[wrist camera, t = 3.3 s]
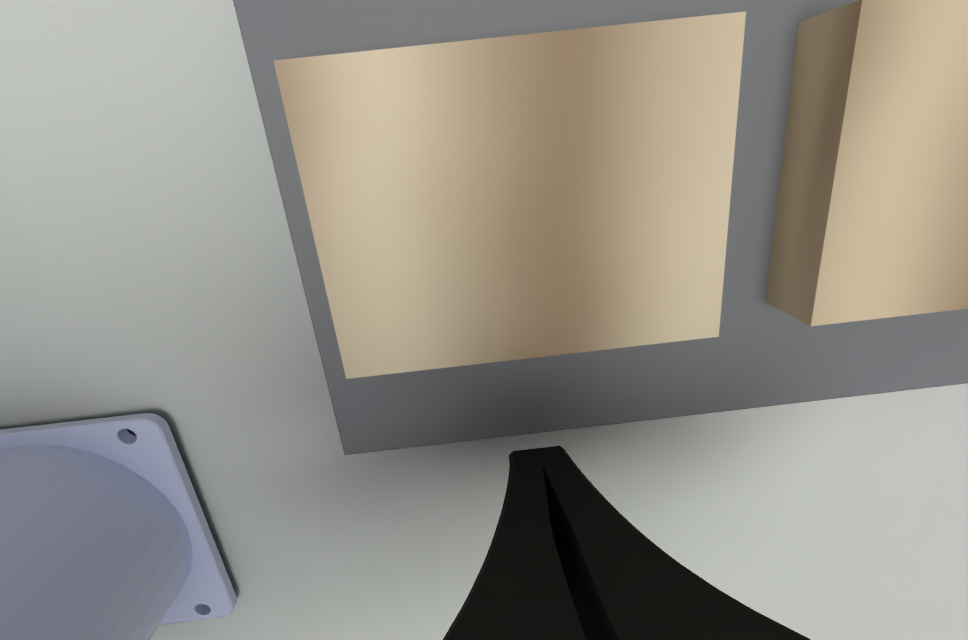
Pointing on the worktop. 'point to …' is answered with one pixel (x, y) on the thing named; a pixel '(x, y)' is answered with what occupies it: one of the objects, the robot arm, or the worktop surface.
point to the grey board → (612, 372)
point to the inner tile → (520, 190)
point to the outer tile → (875, 165)
